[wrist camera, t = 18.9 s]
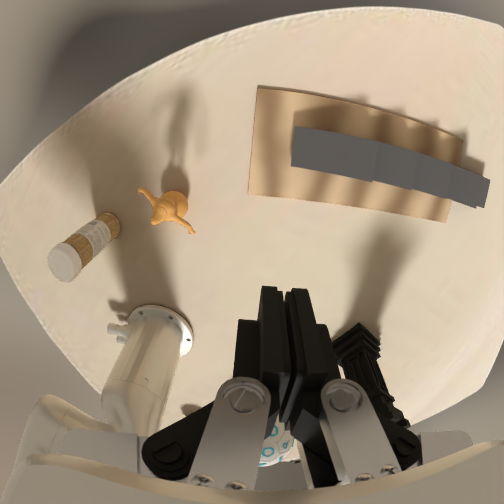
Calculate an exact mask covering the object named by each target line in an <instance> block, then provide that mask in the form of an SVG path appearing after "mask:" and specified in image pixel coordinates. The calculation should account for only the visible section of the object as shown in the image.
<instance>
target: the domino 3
mask: <svg viewBox="0 0 504 504" xmlns="http://www.w3.org/2000/svg"><path fill="white" fill-rule="evenodd" d="M452 166H453V164H451V163H448V162H445V161H442V160H439V159H436V158H433V157H430V156H427V155H424V154H421V153H418V158H417V164H416V170H415V175H414V180H413V185H412V189H414V190H417V191H421V192H424V193H428V194H431V195H434V196H437V197H441V198H444V199H446V196H447V191H448V187H449V182H450V177H451V172H452Z"/></svg>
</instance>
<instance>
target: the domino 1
mask: <svg viewBox="0 0 504 504" xmlns="http://www.w3.org/2000/svg"><path fill="white" fill-rule="evenodd" d="M378 144H379V142H378V141H374V140H370V139H365V138H361V137H356V136H351V135H346V134H341V133H336V132H330V131H324V130H318V129H311V128H304V127H297V126H295V132H294V141H293V150H292V159H291V166H292V167H298V168H304V169H309V170H315V171H320V172H326V173H331V174H336V175H341V176H345V177H350V178H355V179H359V180H363V181H368V182H372V181H373V175H374V169H375V163H376V157H377V151H378Z"/></svg>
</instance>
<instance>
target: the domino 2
mask: <svg viewBox="0 0 504 504" xmlns="http://www.w3.org/2000/svg"><path fill="white" fill-rule="evenodd" d="M417 158H418V152H415V151H412V150H408V149H405V148H401V147H397V146H394V145H390V144H386V143H382V142H379V144H378V151H377V157H376V163H375V169H374V175H373V181H377V182H381V183H385V184H389V185H393V186H397V187H400V188H404V189H408V190H412V185H413V180H414V175H415V170H416V164H417Z"/></svg>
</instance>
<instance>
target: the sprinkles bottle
mask: <svg viewBox="0 0 504 504" xmlns="http://www.w3.org/2000/svg"><path fill="white" fill-rule="evenodd" d="M119 233H120V224H119V221H118V219H117V218H116V217H115V216H114V215H113V214H111V213H108V212H106V213H102V214H100V215H99V216H98V217H97V218H96V219H94V220H92V221H90V222H89V223H88V224H86V225H85V226H83V227H82V228H80V229H79V230H78V231H76V232H75V233H74V234H72V235H71V236H70V237H69V238H68V239H67V240H65V241H64V242H62V243H59V244H58V245H56V246H55V247H54V248H53V249H52V250H51V251H50V252H49V254H48V265H49V268H50V270H51V272H52V273H53V275H54V276H55V277H56V278H57V279H59V280H60V281H62V282H71V281H72V280H74V279H75V278H76V277H77V276H78V275H79V273H80V272H81V270H82V268H84V266H86V265H87V264H88V263H89V262H90V261H91V260H92V259H93V258H94V257H95V256H96V255H98V254H99V253H100V252H101V251H102V250H103V249H104V248H105V247H106V246H107V245H108V244H109V243H110V242H111V241H112V240H113V239H115V238H116V237H117V236H118V235H119Z"/></svg>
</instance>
